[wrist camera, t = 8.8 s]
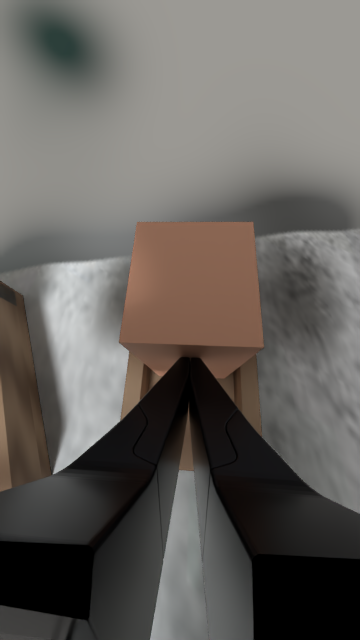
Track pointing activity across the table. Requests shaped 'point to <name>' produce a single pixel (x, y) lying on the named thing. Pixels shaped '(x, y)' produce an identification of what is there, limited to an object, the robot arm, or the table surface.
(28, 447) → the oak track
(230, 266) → the terracotta slider
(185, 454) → the dark wooden block holder
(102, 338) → the table surface
